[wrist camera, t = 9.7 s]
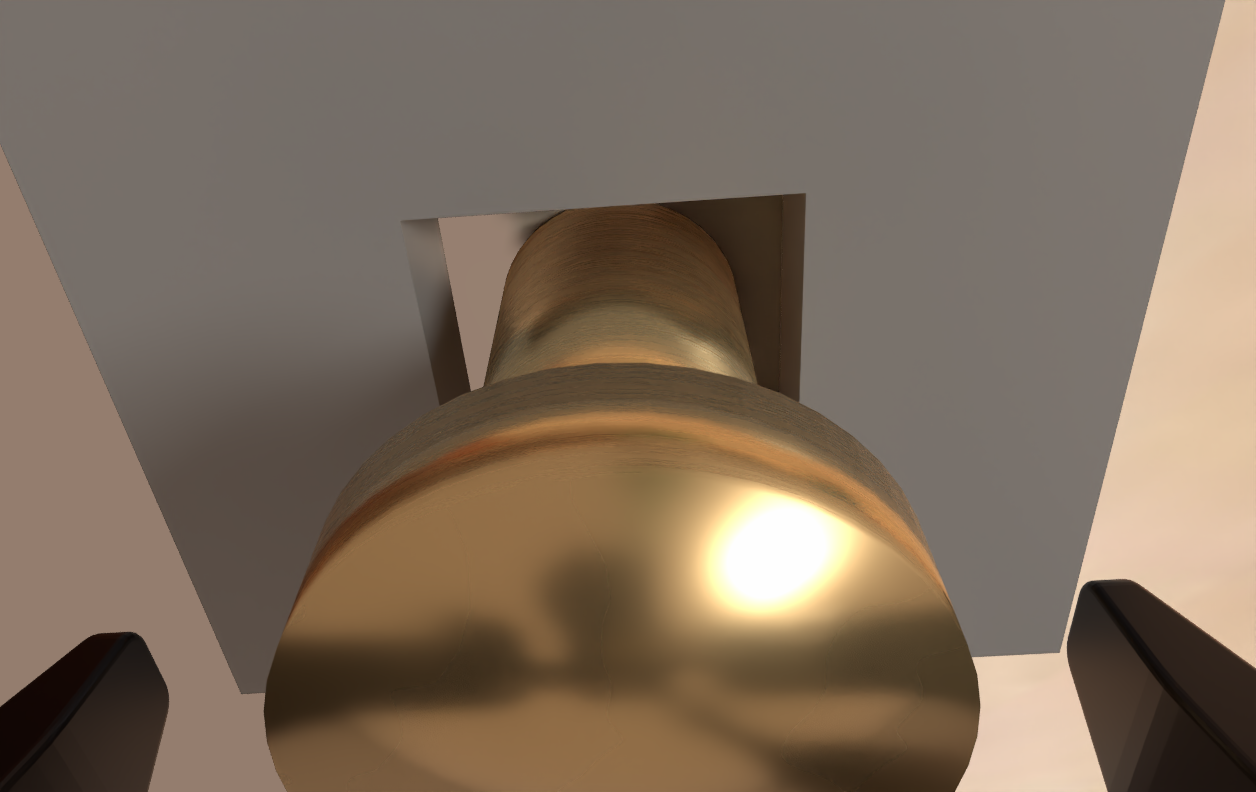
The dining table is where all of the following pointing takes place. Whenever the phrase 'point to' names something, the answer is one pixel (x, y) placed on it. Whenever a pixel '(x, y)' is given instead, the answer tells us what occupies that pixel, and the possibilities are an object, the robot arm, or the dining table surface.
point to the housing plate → (600, 177)
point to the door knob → (622, 565)
